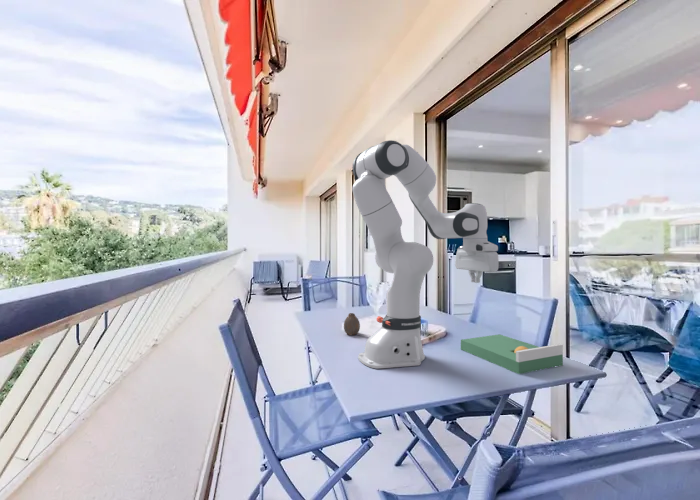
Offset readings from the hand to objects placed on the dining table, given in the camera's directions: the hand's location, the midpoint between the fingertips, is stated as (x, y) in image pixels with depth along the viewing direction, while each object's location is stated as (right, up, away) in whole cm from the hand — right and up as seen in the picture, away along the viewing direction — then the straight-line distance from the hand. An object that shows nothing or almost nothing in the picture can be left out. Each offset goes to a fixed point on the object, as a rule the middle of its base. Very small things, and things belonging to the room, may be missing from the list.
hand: (475, 282), depth 137 cm
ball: (+7, -21, -23) cm, 32 cm away
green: (+5, -24, -17) cm, 29 cm away
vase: (-47, -24, +15) cm, 55 cm away
